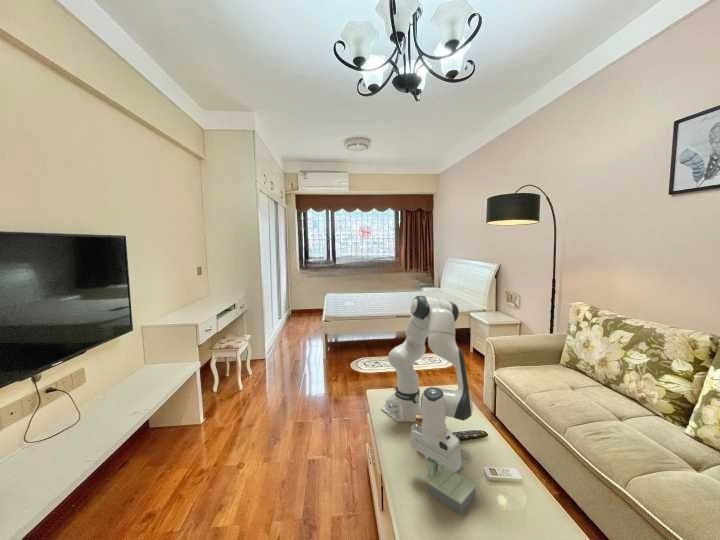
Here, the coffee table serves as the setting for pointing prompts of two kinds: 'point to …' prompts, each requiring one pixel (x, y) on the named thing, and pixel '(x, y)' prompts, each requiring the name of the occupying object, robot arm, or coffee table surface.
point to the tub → (450, 502)
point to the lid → (450, 482)
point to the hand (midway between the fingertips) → (434, 468)
